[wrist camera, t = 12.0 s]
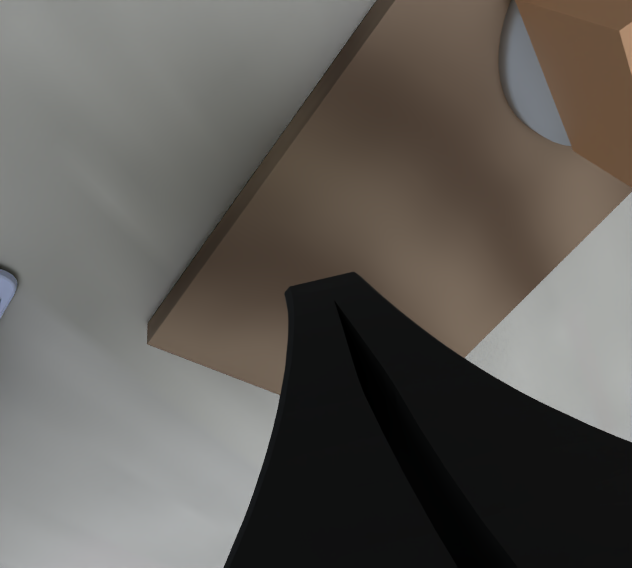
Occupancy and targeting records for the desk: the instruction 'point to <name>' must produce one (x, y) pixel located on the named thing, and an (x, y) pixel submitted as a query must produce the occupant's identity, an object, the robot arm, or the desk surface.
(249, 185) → the hub board
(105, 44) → the desk surface
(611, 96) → the collar
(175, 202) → the desk surface
